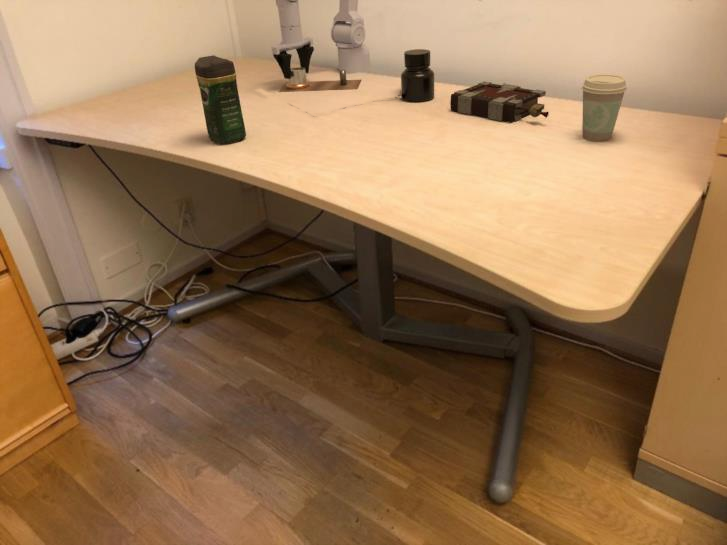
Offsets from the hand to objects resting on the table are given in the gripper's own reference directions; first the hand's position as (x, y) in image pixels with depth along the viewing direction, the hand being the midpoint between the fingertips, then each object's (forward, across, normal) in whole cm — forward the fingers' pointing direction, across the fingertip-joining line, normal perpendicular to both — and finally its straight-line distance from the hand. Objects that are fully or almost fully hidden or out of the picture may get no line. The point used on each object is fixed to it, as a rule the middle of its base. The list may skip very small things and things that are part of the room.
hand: (296, 75), depth 170 cm
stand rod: (+3, -7, +11) cm, 14 cm away
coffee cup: (+5, -2, +87) cm, 88 cm away
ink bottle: (+5, -10, +36) cm, 38 cm away
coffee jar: (+5, +39, +15) cm, 42 cm away
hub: (+3, 0, 0) cm, 3 cm away
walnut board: (+5, -4, +6) cm, 8 cm away
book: (+5, -9, +63) cm, 64 cm away
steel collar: (+2, 0, 0) cm, 2 cm away
